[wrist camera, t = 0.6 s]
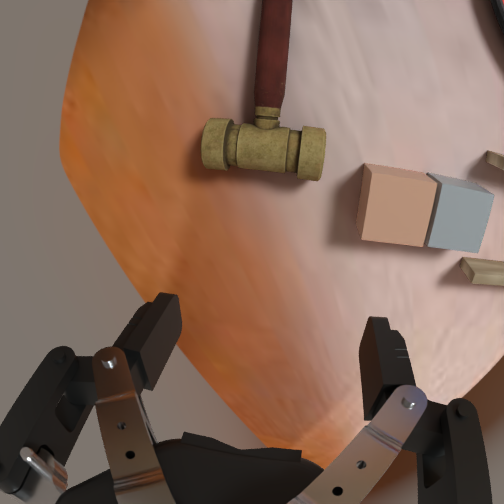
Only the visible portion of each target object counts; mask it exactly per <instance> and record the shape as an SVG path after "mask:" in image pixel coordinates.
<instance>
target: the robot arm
mask: <svg viewBox="0 0 504 504" xmlns="http://www.w3.org/2000/svg"><path fill="white" fill-rule="evenodd" d="M181 330H182V318H181V312H180V305H179V298H178V296H177V295H175V294H169V293H162V292H160V293H159V294H158V295H157V297H156V298H155V300H154V301H153V303H152V302H147V303H146V304H144V305H143V306H141V307H140V308H139V309H138V310H137V311H136V313H135V314H134V316H133V318H131V320H130V321H129V324H127V326H126V327H125V328H124V330H123V331H122V333H121V335H120V336H119V337H118V339H117V340H116V342H115V343H114V345H113V346H112V347H105V348H103V349H101V350H99V351H98V352H96V354H95V355H94V356H76V355H75V353H74V351H73V350H72V349H71V348H69V347H67V346H60V347H56V348H54V349H52V350H51V351H50V352H49V353H48V354H47V355H46V357H45V358H44V360H43V361H42V362H41V364H40V365H39V367H38V368H37V370H36V371H35V373H34V374H33V375H32V377H31V378H30V380H29V381H28V383H27V384H26V386H25V388H24V389H23V391H22V392H21V394H20V395H19V397H18V398H17V400H16V401H15V403H14V404H13V406H12V408H11V409H10V411H9V412H8V414H7V416H6V417H5V419H4V421H3V422H2V424H1V426H0V491H2V492H3V493H5V494H6V495H8V496H9V497H11V498H12V499H14V500H15V501H17V502H18V503H21V504H359V503H360V502H361V500H363V499H364V497H365V496H366V495H367V494H368V493H369V491H370V490H371V489H372V488H373V486H374V485H375V484H376V483H377V481H378V480H379V479H380V478H381V476H382V475H383V474H384V472H385V471H386V470H387V468H388V467H389V466H390V464H391V463H392V462H393V460H394V459H395V457H396V456H397V455H398V453H399V451H400V450H401V449H404V450H408V451H412V452H416V455H417V476H418V504H492V494H491V485H490V477H489V470H488V464H487V458H486V452H485V446H484V441H483V436H482V432H481V427H480V422H479V418H478V414H477V410H476V408H475V407H474V405H473V404H472V403H471V402H470V401H468V400H466V399H462V398H456V399H453V400H452V401H450V403H449V404H448V405H444V404H440V403H436V402H432V401H430V400H427V397H426V395H425V393H424V392H423V391H422V390H421V389H419V388H418V387H416V383H415V379H414V375H413V371H412V367H411V363H410V359H409V355H408V351H407V347H406V344H405V340H404V338H403V337H402V336H401V334H400V333H399V332H398V331H397V330H391V329H390V325H389V322H388V319H387V318H386V317H372V316H370V317H369V318H368V321H367V324H366V327H365V330H364V333H363V337H362V340H361V343H360V347H359V363H360V373H361V384H362V396H363V409H364V421H371V422H370V423H369V424H368V425H367V426H365V427H364V428H363V429H362V430H361V431H360V432H359V433H358V434H357V436H356V437H355V438H354V439H353V440H352V441H351V442H350V444H349V445H348V446H347V447H346V448H345V449H344V450H343V451H342V452H341V453H340V455H339V456H338V457H337V458H336V459H335V460H334V461H333V462H332V463H331V464H330V465H329V466H328V467H327V468H326V469H325V470H324V469H323V468H321V467H320V466H319V465H317V464H315V463H313V462H311V461H309V460H307V459H304V458H301V453H302V450H292V449H282V448H273V447H271V448H261V449H246V450H241V449H237V448H234V447H232V446H230V445H227V444H225V443H223V442H220V441H218V440H216V439H213V438H210V437H206V436H200V435H196V434H192V433H187V432H184V433H183V436H182V439H171V440H165V441H162V442H159V443H158V442H157V439H156V437H155V435H154V432H153V430H152V427H151V424H150V421H149V419H148V416H147V413H146V410H145V407H144V404H143V401H142V398H141V392H142V391H143V389H148V390H151V391H153V389H154V387H155V385H156V383H157V381H158V379H159V377H160V375H161V373H162V371H163V369H164V367H165V365H166V363H167V361H168V359H169V357H170V355H171V353H172V350H173V348H174V346H175V344H176V342H177V340H178V338H179V337H180V334H181ZM62 395H63V396H62ZM59 400H60V401H59ZM58 402H59V403H58ZM94 405H95V407H96V412H97V417H98V422H99V427H100V431H101V436H102V440H103V444H104V448H105V452H106V456H107V460H108V463H109V467H110V469H108V470H106V471H104V472H102V473H100V474H98V475H96V476H94V477H92V478H90V479H88V480H86V481H84V482H82V483H80V484H78V485H76V486H73V487H71V488H70V489H68V490H66V488H67V486H68V484H67V478H68V476H67V471H66V469H65V468H64V466H65V464H66V462H67V460H68V458H69V455H70V453H71V451H72V449H73V447H74V445H75V443H76V441H77V439H78V436H79V434H80V432H81V430H82V428H83V426H84V424H85V422H86V420H87V418H88V416H89V414H90V412H91V410H92V408H93V406H94Z"/></svg>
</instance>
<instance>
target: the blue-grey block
mask: <svg viewBox="0 0 504 504" xmlns="http://www.w3.org/2000/svg"><path fill="white" fill-rule="evenodd" d="M427 176H428V177H430V178H431V179H432V180H434V181H435V182H436V183H437V188H436V193H435V198H434V203H433V207H432V212H431V216H430V220H429V225H428V229H427V233H426V236H425V240H424V242H425V243H426V245H427V246H428V247H434V248H442V249H450V250H457V251H465V252H472V253H478V252H479V249H480V246H481V243H482V239H483V236H484V233H485V229H486V226H487V222H488V219H489V215H490V211H491V207H492V203H493V199H494V194H492V193H491V192H489V191H488V190H486V189H485V188H483V187H482V186H480V185H479V184H477V183H474V182H470V181H466V180H461V179H457V178H452V177H447V176H443V175H438V174H433V173H428V174H427Z"/></svg>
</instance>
